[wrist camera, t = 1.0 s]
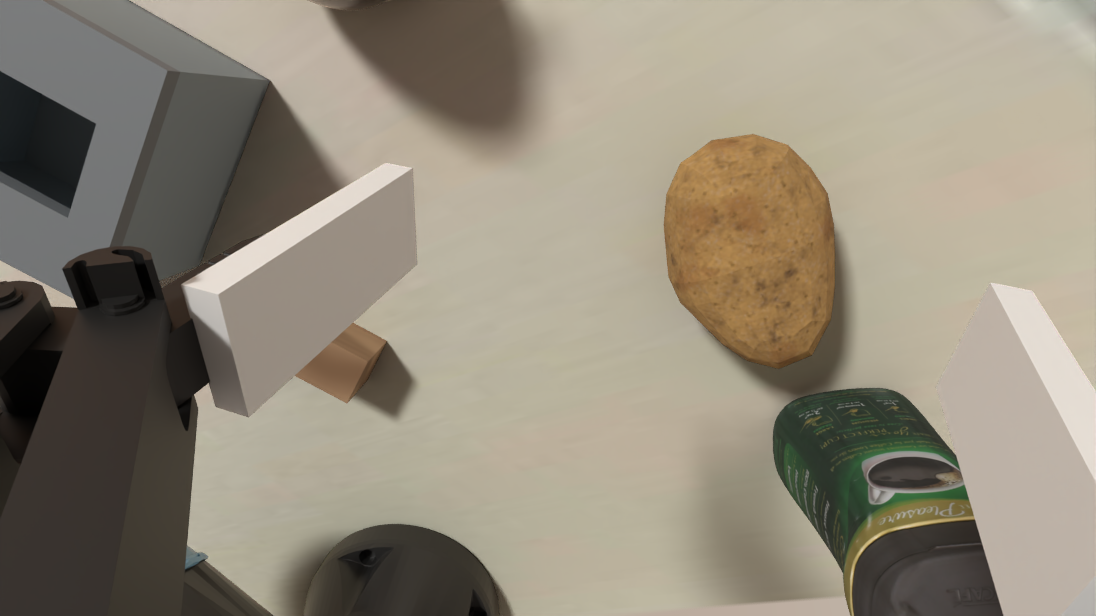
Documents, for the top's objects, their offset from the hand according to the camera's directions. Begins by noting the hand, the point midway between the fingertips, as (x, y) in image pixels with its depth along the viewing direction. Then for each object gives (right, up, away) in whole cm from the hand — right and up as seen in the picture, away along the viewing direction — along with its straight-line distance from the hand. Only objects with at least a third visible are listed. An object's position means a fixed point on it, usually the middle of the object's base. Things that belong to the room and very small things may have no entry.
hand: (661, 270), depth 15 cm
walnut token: (-18, -3, +31) cm, 35 cm away
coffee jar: (+18, -10, +30) cm, 36 cm away
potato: (+10, +4, +26) cm, 28 cm away
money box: (-30, +11, +27) cm, 42 cm away
